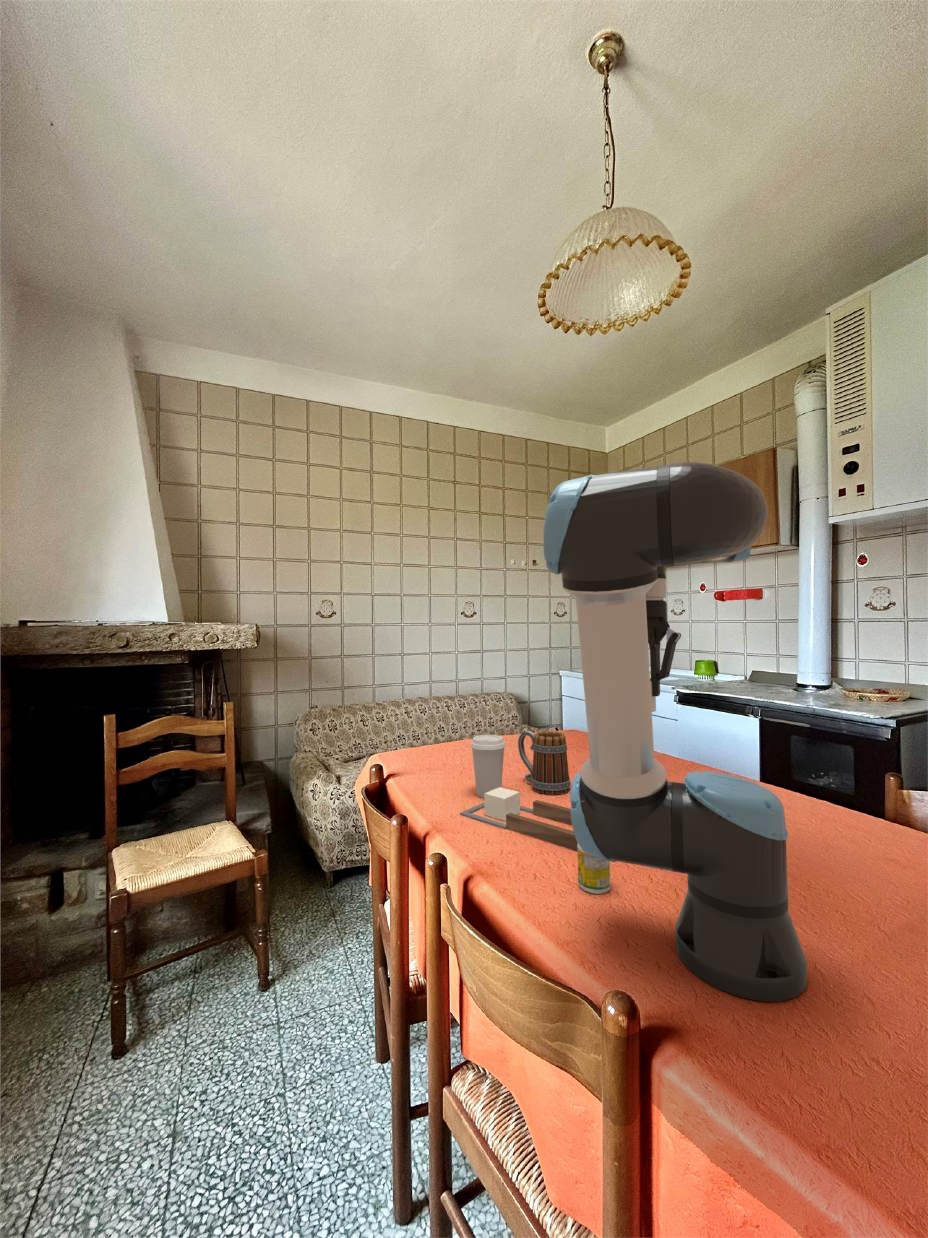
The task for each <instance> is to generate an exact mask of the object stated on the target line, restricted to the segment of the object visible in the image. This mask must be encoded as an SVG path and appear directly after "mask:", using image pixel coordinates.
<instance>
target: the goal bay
mask: <svg viewBox="0 0 928 1238" xmlns="http://www.w3.org/2000/svg"><path fill="white" fill-rule="evenodd" d="M482 809H485V804H484V802H481V803H479V804H477V805H475V806H473V807H469V808H468V809H466V810H463V811H461V812H459V816H463V817H466V818H469V819H471V820H472V819H473V820H476V821H478V822H482V823H485V824H487V825H490V826H494V827H497V828H499V829H502V830H503V829H504V830H507V829H506V823H503V822H500V821H497V820H493V819H490V818H488V817H484V816H481V815H478V814H474V813H475V812H476V811H479V810H482ZM520 811H523V812H526V813H529V814H533V808H530V807H527V806H523V805H520Z"/></svg>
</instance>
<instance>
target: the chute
mask: <svg viewBox="0 0 928 1238" xmlns="http://www.w3.org/2000/svg"><path fill="white" fill-rule="evenodd" d="M532 809H533V813H532V816H533V815H534V816H537V817H541V818H545V819H547V820H551V821H553V822H558V823H561V824H565V825H569V826H572V820H571V807H570V808H569V807H566V806H562V805H558V804H554V803H550V802H545V801H542V800H539V799H536V800H533V802H532ZM505 824H506V829H505V830H510V831H512V832H516V833H518V834H522V835H525V836H528V837H531V838H534V839H538V840H541V841H544V842H547V843H550V844H553V845H556V846H560V847H563V848H566V849H569V850H571V851H575V852H578V842H577V840H576V837H575V834H574V831H573V830H570V829H567V828H564V827H560V826H557V825H553V824H550V823H547V822H543V821H539V820H536V819H533V818H529V817H526V816H523V815H520V814H518V815H516V814H513V813H509V814H507V815H506V821H505Z"/></svg>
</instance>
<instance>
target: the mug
mask: <svg viewBox="0 0 928 1238" xmlns="http://www.w3.org/2000/svg"><path fill="white" fill-rule="evenodd" d="M527 736H528V737H529V738H530V740H531V746H530V747H529V749H530V750H531V751H533V753H532V757H533V759H532V762H531V761H530V759H529V758H528V756H527V753H526V750H525V738H526V737H527ZM567 746H568V745H567V741H566V735H565V734H564V733H563V732H559V731H553V730H552V731H551V730H550V731H549V730H548V731H546V730H545V731H538V732H536V733H534V731H531V730H528V731H527V730H526V731H523V732H521V733H520V735H519V737H518V740H517V748H518V754H519V756H520V758H521V761H522V762H523V764H524V765H525V767H526V768H527V770H528V771H529V773H527V774H524V778H525V780H526V781H527V782H529V783H530V784H531V788H532V790H533V791H534V792H536V793H538V794H540V795H546V796H558V795H559V796H560V795H564V794H566V793H568V792H569V791H571V779H570V774H569V772H570V771H569V762H568V754H567V751H568V747H567Z"/></svg>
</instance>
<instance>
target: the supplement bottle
mask: <svg viewBox="0 0 928 1238" xmlns="http://www.w3.org/2000/svg"><path fill="white" fill-rule="evenodd" d="M577 881H578V886H579V887H580V888H581V889H582V890H583V891H585V892H587V893H590V894H594V895H595V894H596V895H600V894H605V893H607V892H608V891H609V890H610V889H611V885H612V884H611V861H607V860H605V859H602V858H598V857H595V856H591V855H589V854H587V853H586V852H584V851H583V850H582V849H581V847H580V846H579V844H578V851H577Z"/></svg>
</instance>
